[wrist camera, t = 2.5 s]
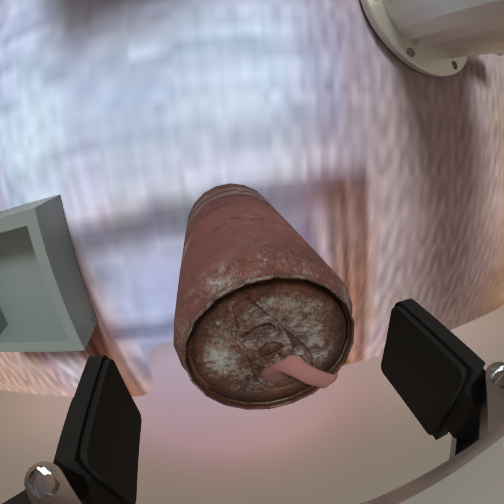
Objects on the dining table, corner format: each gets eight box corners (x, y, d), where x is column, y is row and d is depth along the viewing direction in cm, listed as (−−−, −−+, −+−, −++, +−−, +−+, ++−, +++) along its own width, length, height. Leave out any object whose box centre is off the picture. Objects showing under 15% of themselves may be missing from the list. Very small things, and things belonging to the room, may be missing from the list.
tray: (60, 194, 18) (34, 207, 15) (97, 321, 23) (84, 350, 19) (-29, 222, 17) (-55, 237, 14) (10, 327, 21) (-8, 351, 18)
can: (251, 276, 23) (305, 426, 10) (174, 244, 21) (147, 393, 9) (290, 207, 22) (402, 309, 9) (210, 168, 20) (226, 228, 7)
